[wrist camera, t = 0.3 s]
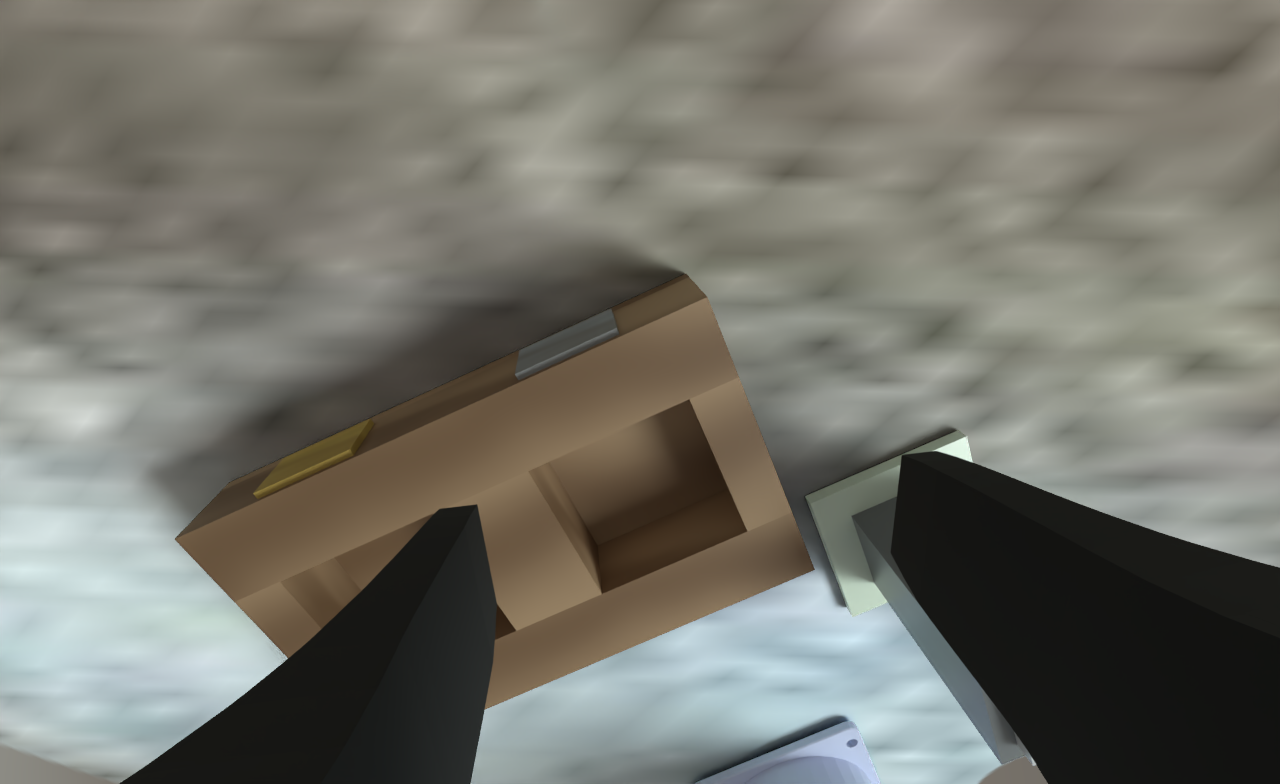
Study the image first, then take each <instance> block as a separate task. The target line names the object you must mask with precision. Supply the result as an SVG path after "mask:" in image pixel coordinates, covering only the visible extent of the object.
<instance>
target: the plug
mask: <svg viewBox="0 0 1280 784" xmlns="http://www.w3.org/2000/svg"><path fill="white" fill-rule="evenodd" d="M896 500H897V497H894V498H892V499H890V500H887V501H885V502H883V503H880V504H878V505H876V506H873V507H871V508H869V509H866V510H864V511H862V512H859V513H857V514H855V515H852V516H851V517H852V519H853V522H854V525H855V528H856V531H857V534H858V537H859V540H860V543H861V546H862V549H863V551H864V554H865V557H866V560H867V563H868V566H869V569H870V572H871V575H872V578H873V581H874V583H875V585H876V586H877V587H878V589H879V590H880V592H881V593H882V595H883V596H884V597H885V599H886V600H887V602H888V603H889V605H890V606H891V607H892V609H893V610H894V612H895V613H896V615H897V616H898V617H899V619H900V620H901V622H902V623H903V625H904V626H905V627H906V629H907V630H908V632H909V633H910V635H911V636H912V637H913V639H914V640H915V642H916V643H917V644H918V646H919V647H920V649H921V650H922V652H923V653H924V654H925V656H926V657H927V659H928V660H929V662H930V663H931V664H932V666H933V667H934V669H935V670H936V672H937V673H938V674H939V676H940V677H941V679H942V680H943V682H944V683H945V684H946V686H947V687H948V689H949V690H950V692H951V693H952V694H953V696H954V697H955V699H956V700H957V701H958V703H959V704H960V706H961V707H962V709H963V710H964V711H965V713H966V714H967V716H968V717H969V719H970V720H971V721H972V723H973V724H974V726H975V727H976V729H977V730H978V731H979V733H980V734H981V736H982V737H983V739H984V740H985V741H986V743H987V744H988V746H989V747H990V749H991V750H992V751H993V753H994V754H995V756H996V757H997V759H998V760H999V761H1000V763H1001V764H1005V763H1007V762H1010V761H1012V760H1015V759H1017V758H1020V757H1022V756H1026V757H1027V758H1028V760H1029V761H1030V762H1031V764H1032V765H1033V766H1035V765H1036V763H1035V762H1034V760H1033V758H1032V757H1031V755H1030V754H1029V752H1028V751H1027V749H1026V748H1025V746H1024V745H1023V743H1022V742H1021V741H1020V739H1019V738H1018V736H1017V735H1016V733H1015V732H1014V731H1013V729H1012V728H1011V726H1010V725H1009V723H1008V722H1007V721H1006V719H1005V718H1004V717H1003V715H1002V714H1001V713H1000V711H999V710H998V709H997V707H996V706H995V705H994V703H993V702H992V701H991V700H990V698H989V697H988V696H987V694H986V693H985V692H984V690H983V689H982V688H981V686H980V685H979V684H978V682H977V681H976V680H975V678H974V677H973V676H972V674H971V673H970V672H969V670H968V669H967V668H966V667H965V665H964V664H963V663H962V661H961V660H960V659H959V657H958V656H957V655H956V653H955V652H954V651H953V649H952V648H951V647H950V645H949V644H948V643H947V641H946V640H945V639H944V637H943V636H942V635H941V633H940V632H939V631H938V629H937V628H936V627H935V625H934V624H933V623H932V621H931V620H930V619H929V617H928V616H927V614H926V613H925V612H924V610H923V609H922V607H921V606H920V605H919V603H918V602H917V600H916V598H915V596H914V595H913V593H912V591H911V590H910V588H909V586H908V584H907V583H906V581H905V579H904V577H903V575H902V574H901V572H900V570H899V568H898V566H897V564H896V562H895V560H894V559H893V557H892V555H891V553H890V552H891V543H892V535H893V526H894V517H895V509H896Z"/></svg>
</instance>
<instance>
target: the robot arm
mask: <svg viewBox="0 0 1280 784" xmlns="http://www.w3.org/2000/svg"><path fill="white" fill-rule="evenodd" d="M890 553H891V555H892V557H893V559H894V560H895V562H896V564H897V566H898V568H899V570H900V572H901V574H902V575H903V577H904V579H905V581H906V583H907V584H908V586H909V588H910V590H911V591H912V593H913V595H914V596H915V598H916V600H917V602H918V603H919V605H920V606H921V607H922V609H923V610H924V612H925V613H926V614H927V616H928V617H929V619H930V620H931V621H932V623H933V624H934V625H935V627H936V628H937V629H938V631H939V632H940V633H941V635H942V636H943V637H944V639H945V640H946V641H947V643H948V644H949V645H950V647H951V648H952V649H953V651H954V652H955V653H956V655H957V656H958V657H959V659H960V660H961V661H962V663H963V664H964V665H965V667H966V668H967V669H968V670H969V672H970V673H971V674H972V676H973V677H974V678H975V680H976V681H977V682H978V684H979V685H980V686H981V688H982V689H983V690H984V692H985V693H986V694H987V696H988V697H989V698H990V700H991V701H992V702H993V703H994V705H995V706H996V707H997V709H998V710H999V711H1000V713H1001V714H1002V715H1003V717H1004V718H1005V719H1006V721H1007V722H1008V723H1009V725H1010V726H1011V728H1012V729H1013V731H1014V732H1015V733H1016V735H1017V736H1018V738H1019V739H1020V741H1021V742H1022V743H1023V745H1024V746H1025V748H1026V749H1027V751H1028V752H1029V754H1030V755H1031V757H1032V758H1033V760H1034V762H1035V763H1036V765H1037V766H1038V768H1039V770H1040V771H1041V773H1042V774H1043V776H1044V778H1045V779H1046V781H1047V782H1048V784H1280V568H1279V567H1275V566H1271V565H1267V564H1263V563H1260V562H1256V561H1252V560H1249V559H1246V558H1242V557H1239V556H1235V555H1232V554H1228V553H1225V552H1222V551H1218V550H1215V549H1211V548H1208V547H1204V546H1201V545H1198V544H1194V543H1191V542H1187V541H1184V540H1181V539H1178V538H1175V537H1172V536H1169V535H1166V534H1162V533H1159V532H1156V531H1154V530H1151V529H1148V528H1145V527H1142V526H1139V525H1136V524H1133V523H1131V522H1128V521H1125V520H1122V519H1119V518H1116V517H1113V516H1111V515H1108V514H1105V513H1102V512H1099V511H1097V510H1094V509H1091V508H1089V507H1086V506H1083V505H1081V504H1078V503H1075V502H1073V501H1070V500H1068V499H1065V498H1062V497H1060V496H1057V495H1055V494H1052V493H1049V492H1047V491H1044V490H1042V489H1039V488H1037V487H1034V486H1032V485H1029V484H1026V483H1024V482H1021V481H1019V480H1016V479H1014V478H1011V477H1009V476H1006V475H1004V474H1001V473H999V472H996V471H993V470H991V469H988V468H986V467H983V466H980V465H978V464H975V463H972V462H970V461H967V460H964V459H961V458H958V457H955V456H952V455H949V454H945V453H942V452H938V451H930V452H921V453H913V454H904V455H902V457H901V466H900V474H899V483H898V492H897V500H896V509H895V517H894V526H893V535H892V543H891V552H890ZM496 612H497V602H496V597H495V592H494V586H493V581H492V576H491V571H490V566H489V561H488V556H487V551H486V546H485V541H484V536H483V531H482V525H481V520H480V515H479V510H478V505H477V504H476V505H467V506H459V507H450V508H442V509H439V510H438V511H437V512H436V513H435V514H434V515H433V516H432V517H431V518H430V519H429V520H428V521H427V522H426V523H425V524H424V525H423V526H422V527H421V528H420V530H419V531H418V532H417V533H416V534H415V535H414V536H413V537H412V538H411V539H410V540H409V542H408V543H407V544H406V545H405V546H404V547H403V548H402V549H401V550H400V551H399V552H398V553H397V554H396V556H395V557H394V558H393V559H392V560H391V561H390V562H389V563H388V564H387V565H386V566H385V567H384V568H383V569H382V570H381V571H380V572H379V573H378V574H377V575H376V576H375V578H374V579H373V580H372V581H371V582H370V583H369V584H368V585H367V586H366V587H365V588H364V589H363V590H362V591H361V592H360V593H359V594H358V595H357V596H356V597H354V598H353V599H352V600H351V601H350V602H349V603H348V604H347V605H346V606H345V607H344V608H343V609H342V610H341V611H340V612H339V613H338V614H337V615H336V616H335V617H333V618H332V619H331V620H330V621H329V622H328V623H327V624H326V625H325V626H324V627H323V628H322V629H321V630H320V631H319V632H318V633H317V634H316V635H315V636H313V637H312V638H311V639H310V640H309V641H308V642H307V643H306V644H304V645H303V646H302V647H301V648H300V649H299V650H298V651H296V652H295V653H294V654H293V655H292V656H291V657H289V658H288V659H287V660H286V661H285V662H284V663H282V664H281V665H280V666H279V667H278V668H276V669H275V670H274V671H273V672H271V673H270V674H269V675H268V676H266V677H265V678H264V679H263V680H261V681H260V682H259V683H258V684H257V685H255V686H254V687H253V688H252V689H250V690H249V691H248V692H247V693H245V694H244V695H243V696H242V697H240V698H239V699H238V700H236V701H235V702H234V703H232V704H231V705H230V706H229V707H227V708H226V709H224V710H223V711H222V712H220V713H219V714H218V715H216V716H215V717H213V718H212V719H211V720H209V721H208V722H206V723H205V724H204V725H202V726H201V727H199V728H198V729H197V730H195V731H194V732H193V733H191V734H190V735H188V736H187V737H186V738H184V739H183V740H181V741H180V742H179V743H177V744H176V745H174V746H173V747H172V748H170V749H169V750H167V751H166V752H165V753H163V754H162V755H161V756H159V757H158V758H156V759H155V760H154V761H152V762H151V763H149V764H148V765H147V766H145V767H144V768H142V769H141V770H139V771H138V772H136V773H135V774H133V775H132V776H130V777H129V778H127V779H126V780H124V781H123V782H121V783H120V784H470V782H471V777H472V772H473V767H474V762H475V756H476V751H477V746H478V741H479V736H480V730H481V725H482V720H483V715H484V709H485V704H486V699H487V693H488V688H489V683H490V677H491V672H492V666H493V658H494V644H495V629H496ZM695 784H881V783H880V780H879V778H878V775H877V773H876V770H875V768H874V766H873V763H872V761H871V758H870V756H869V754H868V751H867V749H866V746H865V744H864V742H863V739H862V737H861V734H860V732H859V730H858V728H857V726H856V724H855V723H853V722H850V721H846V722H842V723H840V724H838V725H835V726H833V727H830V728H828V729H825V730H823V731H820V732H818V733H815V734H813V735H811V736H808V737H806V738H803V739H801V740H798V741H796V742H793V743H791V744H789V745H786V746H784V747H781V748H779V749H776V750H774V751H771V752H769V753H766V754H764V755H762V756H759V757H757V758H754V759H752V760H749V761H747V762H744V763H742V764H739V765H737V766H735V767H732V768H730V769H727V770H725V771H722V772H720V773H717V774H715V775H713V776H710V777H708V778H705V779H703V780H700V781H698V782H696V783H695Z"/></svg>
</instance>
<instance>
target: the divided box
mask: <svg viewBox="0 0 1280 784" xmlns="http://www.w3.org/2000/svg"><path fill="white" fill-rule="evenodd" d="M476 504H477V505H478V510H479V515H480V520H481V525H482V531H483V536H484V541H485V546H486V551H487V556H488V561H489V566H490V571H491V576H492V581H493V586H494V592H495V597H496V602H497V612H496V629H495V644H494V658H493V666H492V672H491V677H490V683H489V688H488V693H487V699H486V704H485V709H487V708H489V707H492V706H494V705H497V704H499V703H501V702H504V701H506V700H508V699H511V698H513V697H515V696H518V695H520V694H523V693H525V692H527V691H530V690H532V689H534V688H537V687H539V686H541V685H544V684H546V683H548V682H551V681H553V680H556V679H558V678H560V677H563V676H565V675H567V674H570V673H572V672H574V671H577V670H579V669H582V668H584V667H586V666H589V665H591V664H593V663H596V662H598V661H600V660H603V659H605V658H607V657H610V656H612V655H615V654H617V653H619V652H622V651H624V650H626V649H629V648H631V647H633V646H636V645H638V644H641V643H643V642H645V641H648V640H650V639H652V638H655V637H657V636H659V635H662V634H664V633H667V632H669V631H671V630H674V629H676V628H678V627H681V626H683V625H685V624H688V623H690V622H692V621H695V620H697V619H700V618H702V617H704V616H707V615H709V614H711V613H714V612H716V611H718V610H721V609H723V608H726V607H728V606H730V605H733V604H735V603H737V602H740V601H742V600H744V599H747V598H749V597H751V596H754V595H756V594H759V593H761V592H763V591H766V590H768V589H770V588H773V587H775V586H777V585H780V584H782V583H785V582H787V581H789V580H792V579H794V578H796V577H799V576H801V575H803V574H806V573H808V572H810V571H813V570H815V569H814V567H813V564H812V562H811V559H810V556H809V554H808V551H807V549H806V546H805V544H804V541H803V539H802V536H801V534H800V531H799V529H798V526H797V524H796V521H795V518H794V516H793V513H792V511H791V508H790V506H789V503H788V501H787V498H786V496H785V493H784V491H783V488H782V485H781V483H780V480H779V478H778V475H777V473H776V470H775V468H774V465H773V463H772V460H771V458H770V455H769V452H768V450H767V447H766V445H765V442H764V440H763V437H762V435H761V432H760V430H759V427H758V425H757V422H756V419H755V417H754V414H753V412H752V409H751V407H750V404H749V402H748V399H747V397H746V394H745V392H744V389H743V386H742V384H741V381H740V379H739V376H738V374H737V371H736V369H735V366H734V364H733V361H732V359H731V356H730V353H729V351H728V348H727V346H726V343H725V341H724V338H723V336H722V333H721V331H720V328H719V326H718V323H717V320H716V318H715V315H714V313H713V310H712V308H711V305H710V303H709V300H708V298H707V296H706V295H705V294H704V293H703V292H702V291H701V290H700V289H699V287H698V286H697V285H696V284H695V283H694V282H693V281H692V280H691V279H690V278H689V276H688V275H687V274H684V275H682V276H679V277H677V278H675V279H673V280H671V281H669V282H666V283H664V284H662V285H660V286H658V287H655V288H653V289H651V290H649V291H647V292H645V293H642V294H640V295H638V296H636V297H634V298H631V299H629V300H627V301H625V302H623V303H620V304H618V305H616V306H614V307H612V308H610V309H607V310H605V311H603V312H601V313H599V314H596V315H594V316H592V317H590V318H588V319H586V320H583V321H581V322H579V323H577V324H575V325H572V326H570V327H568V328H566V329H564V330H561V331H559V332H557V333H555V334H553V335H551V336H548V337H546V338H544V339H542V340H540V341H537V342H535V343H533V344H531V345H529V346H527V347H524V348H522V349H520V350H518V351H516V352H513V353H511V354H509V355H507V356H505V357H503V358H500V359H498V360H496V361H494V362H492V363H489V364H487V365H485V366H483V367H481V368H478V369H476V370H474V371H472V372H470V373H468V374H465V375H463V376H461V377H459V378H457V379H454V380H452V381H450V382H448V383H446V384H444V385H441V386H439V387H437V388H435V389H433V390H430V391H428V392H426V393H424V394H422V395H419V396H417V397H415V398H413V399H411V400H409V401H406V402H404V403H402V404H400V405H398V406H395V407H393V408H391V409H389V410H387V411H385V412H382V413H380V414H378V415H376V416H374V417H371V418H369V419H367V420H365V421H363V422H360V423H358V424H356V425H354V426H352V427H350V428H347V429H345V430H343V431H341V432H339V433H336V434H334V435H332V436H330V437H328V438H326V439H323V440H321V441H319V442H317V443H315V444H312V445H310V446H308V447H306V448H304V449H302V450H299V451H297V452H295V453H293V454H291V455H288V456H286V457H284V458H282V459H280V460H277V461H275V462H273V463H271V464H269V465H267V466H264V467H262V468H260V469H258V470H256V471H253V472H251V473H249V474H247V475H245V476H243V477H240V478H238V479H236V480H234V481H232V482H229V483H228V484H227V485H226V486H225V487H224V489H223V490H222V491H221V492H220V493H219V494H218V495H217V496H216V497H215V498H214V499H213V500H212V501H211V502H210V503H209V504H208V505H207V506H206V507H205V508H204V509H203V510H202V511H201V512H200V513H199V514H198V515H197V516H196V518H195V519H194V520H193V521H192V522H191V523H190V524H189V525H188V526H187V527H186V528H185V529H184V530H183V531H182V532H181V533H180V534H179V535H178V536H177V537H176V538H175V540H176V541H177V542H178V543H179V544H180V545H181V546H182V547H183V548H184V550H185V551H186V552H187V553H188V554H189V555H190V556H191V557H192V558H193V559H194V560H195V561H196V562H197V563H198V564H199V565H200V566H201V567H202V568H203V569H204V570H205V572H206V573H207V574H208V575H209V576H210V577H211V578H212V579H213V580H214V581H215V582H216V583H217V584H218V585H219V586H220V587H221V588H222V589H223V590H224V591H225V592H226V594H227V595H228V596H229V597H230V598H231V599H232V600H233V601H234V602H235V603H236V604H237V605H238V606H239V607H240V608H241V609H242V610H243V611H244V612H245V613H246V614H247V616H248V617H249V618H250V619H251V620H252V621H253V622H254V623H255V624H256V625H257V626H258V627H259V628H260V629H261V630H262V631H263V632H264V633H265V634H266V635H267V636H268V638H269V639H270V640H271V641H272V642H273V643H274V644H275V645H276V646H277V647H278V648H279V649H280V650H281V651H282V652H283V653H284V654H285V655H286V656H287V657H288V658H289V657H291V656H292V655H293V654H294V653H295V652H296V651H298V650H299V649H300V648H301V647H302V646H303V645H304V644H306V643H307V642H308V641H309V640H310V639H311V638H312V637H313V636H315V635H316V634H317V633H318V632H319V631H320V630H321V629H322V628H323V627H324V626H325V625H326V624H327V623H328V622H329V621H330V620H331V619H332V618H333V617H335V616H336V615H337V614H338V613H339V612H340V611H341V610H342V609H343V608H344V607H345V606H346V605H347V604H348V603H349V602H350V601H351V600H352V599H353V598H354V597H356V596H357V595H358V594H359V593H360V592H361V591H362V590H363V589H364V588H365V587H366V586H367V585H368V584H369V583H370V582H371V581H372V580H373V579H374V578H375V576H376V575H377V574H378V573H379V572H380V571H381V570H382V569H383V568H384V567H385V566H386V565H387V564H388V563H389V562H390V561H391V560H392V559H393V558H394V557H395V556H396V554H397V553H398V552H399V551H400V550H401V549H402V548H403V547H404V546H405V545H406V544H407V543H408V542H409V540H410V539H411V538H412V537H413V536H414V535H415V534H416V533H417V532H418V531H419V530H420V528H421V527H422V526H423V525H424V524H425V523H426V522H427V521H428V520H429V519H430V518H431V517H432V516H433V515H434V514H435V513H436V512H437V511H438V510H439V509H442V508H450V507H459V506H467V505H476ZM485 709H484V710H485Z"/></svg>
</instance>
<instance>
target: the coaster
mask: <svg viewBox="0 0 1280 784" xmlns="http://www.w3.org/2000/svg"><path fill="white" fill-rule="evenodd" d="M930 451H938V452H942V453H945V454H949V455H952V456H955V457H958V458H961V459H964V460H967V461H970V462H972V457H971V453H970V449H969V444H968V440H967V436H966V435H964V434H963V433H961V432H960V431H959V430H957V431H955V432H953V433H951V434H948V435H946V436H944V437H941V438H939V439H937V440H934V441H932V442H930V443H927V444H925V445H923V446H920V447H918V448H916V449H913V450H911V451H909V452H906V453H904V454H913V453H921V452H930ZM904 454H902V455H904ZM902 455H899V456H897V457H895V458H893V459H890V460H888V461H886V462H883V463H881V464H879V465H876V466H874V467H872V468H869V469H867V470H865V471H862V472H860V473H858V474H855V475H853V476H851V477H848V478H846V479H844V480H841V481H839V482H837V483H835V484H832V485H830V486H828V487H825V488H823V489H821V490H818V491H816V492H814V493H811V494H809V495H807V496H805V498H806V500H807V503H808V505H809V508H810V511H811V513H812V516H813V519H814V521H815V524H816V527H817V529H818V532H819V535H820V537H821V540H822V543H823V545H824V548H825V551H826V553H827V556H828V558H829V561H830V564H831V566H832V569H833V572H834V574H835V577H836V580H837V582H838V585H839V588H840V590H841V593H842V596H843V598H844V601H845V604H846V606H847V609H848V610H849V612H850V614H851V615H852V617H854V616H857V615H859V614H862V613H864V612H866V611H869V610H871V609H874V608H876V607H878V606H881V605H883V604H886V603H888V602H887V600H886V599H885V597H884V596H883V595H882V593H881V592H880V590H879V589H878V587H877V586H876V585H875V583H874V581H873V578H872V575H871V572H870V569H869V566H868V563H867V560H866V557H865V554H864V551H863V549H862V546H861V543H860V540H859V537H858V534H857V531H856V528H855V525H854V522H853V519H852V517H851V516H852V515H855V514H857V513H859V512H862V511H864V510H866V509H869V508H871V507H873V506H876V505H878V504H880V503H883V502H885V501H887V500H890V499H892V498H894V497H897V492H898V483H899V474H900V466H901V457H902ZM972 463H973V462H972Z"/></svg>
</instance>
